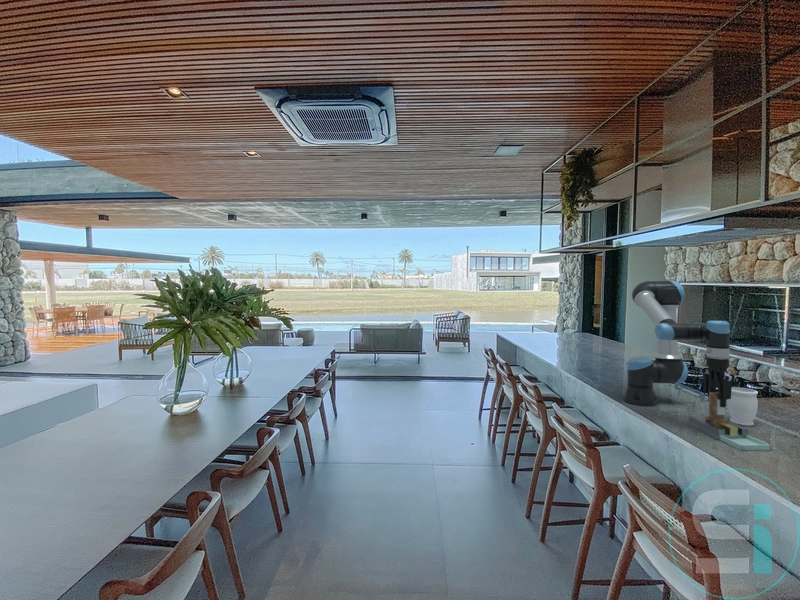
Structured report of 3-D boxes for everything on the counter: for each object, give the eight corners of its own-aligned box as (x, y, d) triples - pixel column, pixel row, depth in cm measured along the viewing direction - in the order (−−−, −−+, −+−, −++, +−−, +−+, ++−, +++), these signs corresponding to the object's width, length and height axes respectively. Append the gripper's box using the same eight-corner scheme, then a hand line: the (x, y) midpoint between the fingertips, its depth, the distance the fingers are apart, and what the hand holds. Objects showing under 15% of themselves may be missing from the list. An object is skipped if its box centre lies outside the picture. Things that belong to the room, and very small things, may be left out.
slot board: (688, 425, 170) (688, 416, 170) (715, 425, 170) (716, 415, 170) (718, 440, 154) (718, 429, 154) (748, 439, 154) (748, 429, 154)
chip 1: (717, 429, 160) (718, 422, 159) (725, 429, 160) (725, 422, 159) (723, 432, 157) (724, 425, 156) (731, 432, 157) (731, 425, 156)
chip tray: (719, 440, 154) (719, 435, 154) (747, 439, 154) (747, 434, 154) (741, 450, 144) (741, 445, 144) (771, 450, 144) (771, 445, 144)
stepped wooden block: (705, 423, 165) (705, 391, 164) (718, 423, 164) (718, 391, 164) (714, 428, 160) (715, 394, 159) (728, 427, 160) (728, 394, 159)
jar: (763, 427, 166) (764, 393, 166) (736, 426, 169) (736, 392, 168) (746, 419, 177) (747, 387, 176) (721, 418, 179) (721, 386, 178)
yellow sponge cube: (724, 432, 157) (724, 425, 156) (731, 432, 157) (731, 425, 156) (730, 435, 154) (730, 427, 153) (737, 435, 154) (737, 427, 153)
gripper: (693, 354, 169) (693, 406, 170) (725, 361, 153) (724, 419, 154) (710, 354, 169) (710, 406, 170) (744, 361, 153) (743, 419, 153)
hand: (716, 412), depth 162 cm, fingers closed on stepped wooden block, 3 cm apart
